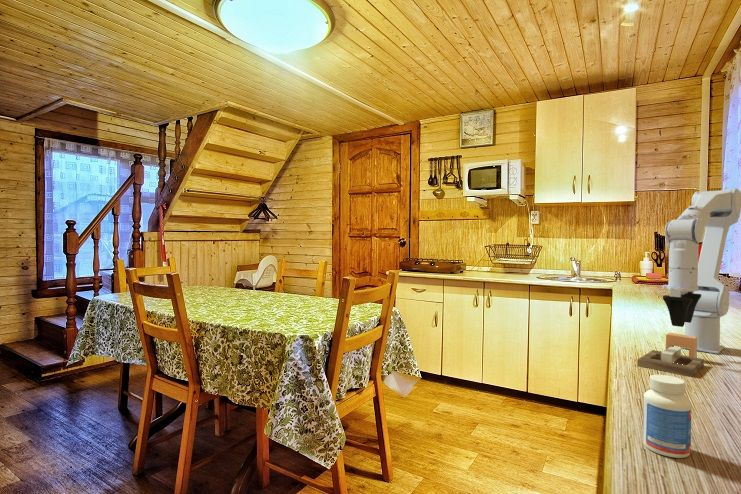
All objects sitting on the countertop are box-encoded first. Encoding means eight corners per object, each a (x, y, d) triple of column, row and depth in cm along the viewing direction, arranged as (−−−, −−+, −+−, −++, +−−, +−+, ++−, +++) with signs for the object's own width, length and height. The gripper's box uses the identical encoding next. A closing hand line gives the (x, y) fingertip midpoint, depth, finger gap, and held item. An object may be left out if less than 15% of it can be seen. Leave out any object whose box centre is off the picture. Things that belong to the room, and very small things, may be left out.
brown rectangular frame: (652, 356, 103) (653, 342, 103) (703, 365, 95) (704, 350, 95) (637, 365, 95) (637, 350, 95) (691, 376, 87) (692, 360, 87)
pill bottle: (699, 461, 54) (701, 387, 54) (653, 457, 55) (655, 384, 55) (677, 441, 60) (679, 374, 59) (636, 437, 61) (637, 371, 60)
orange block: (668, 354, 104) (669, 332, 104) (696, 359, 100) (697, 336, 100) (665, 356, 102) (666, 334, 102) (693, 361, 98) (694, 338, 98)
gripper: (671, 266, 109) (669, 318, 109) (655, 268, 99) (653, 325, 99) (705, 268, 103) (703, 322, 104) (691, 270, 94) (690, 330, 94)
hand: (681, 324), depth 101 cm, fingers open, 7 cm apart
